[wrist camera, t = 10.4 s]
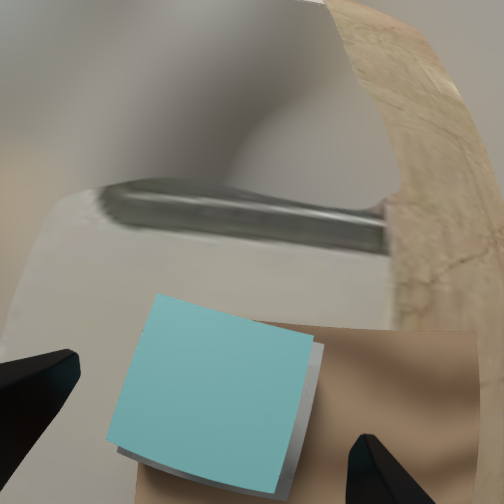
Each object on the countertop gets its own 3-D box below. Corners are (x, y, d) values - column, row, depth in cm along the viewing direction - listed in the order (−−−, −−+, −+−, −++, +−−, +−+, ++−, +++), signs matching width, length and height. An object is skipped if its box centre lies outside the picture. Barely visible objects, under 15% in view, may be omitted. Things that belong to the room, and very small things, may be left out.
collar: (276, 485, 13) (286, 501, 10) (137, 446, 14) (116, 452, 11) (308, 357, 18) (324, 344, 15) (177, 323, 18) (166, 303, 15)
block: (249, 446, 15) (274, 493, 5) (181, 427, 15) (106, 439, 6) (267, 383, 17) (313, 335, 7) (200, 365, 17) (157, 292, 8)
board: (450, 549, 10) (458, 552, 9) (136, 566, 10) (131, 572, 9) (466, 335, 20) (475, 331, 19) (167, 314, 20) (164, 308, 19)
